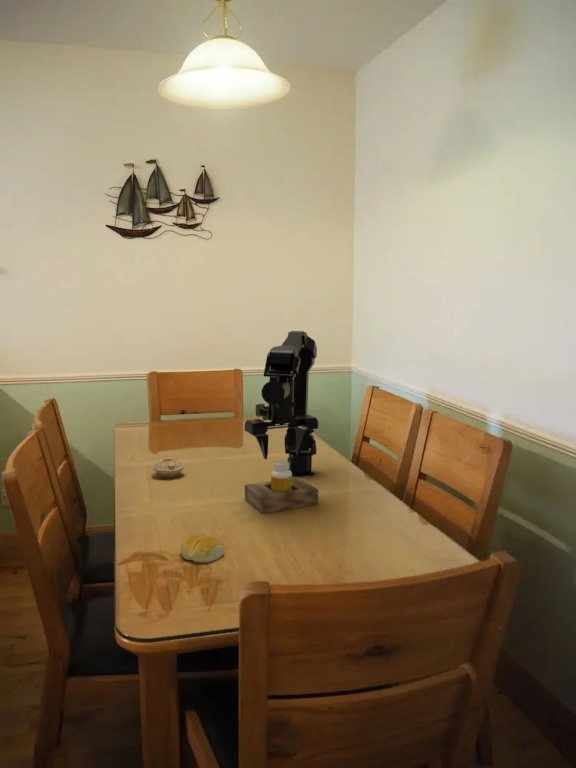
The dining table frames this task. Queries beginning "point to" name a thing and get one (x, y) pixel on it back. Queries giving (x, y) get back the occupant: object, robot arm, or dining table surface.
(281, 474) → the supplement bottle
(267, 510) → the walnut holder
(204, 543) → the bread roll
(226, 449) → the dining table surface
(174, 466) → the pottery oil lamp
